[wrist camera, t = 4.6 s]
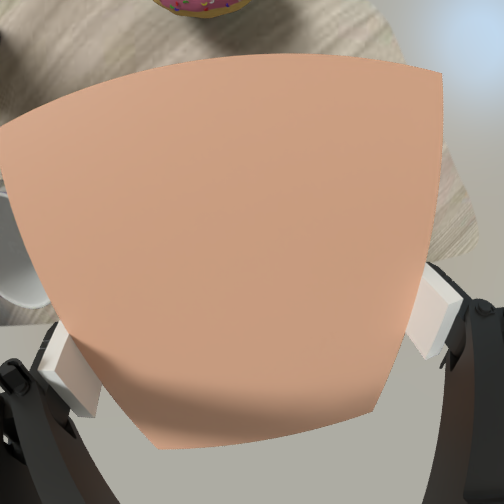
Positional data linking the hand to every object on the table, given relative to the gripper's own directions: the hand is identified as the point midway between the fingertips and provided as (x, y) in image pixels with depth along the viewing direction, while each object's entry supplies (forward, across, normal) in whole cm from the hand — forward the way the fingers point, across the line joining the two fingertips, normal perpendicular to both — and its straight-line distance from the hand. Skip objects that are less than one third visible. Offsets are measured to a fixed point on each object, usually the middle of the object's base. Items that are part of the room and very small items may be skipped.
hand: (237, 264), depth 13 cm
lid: (-2, 0, 0) cm, 2 cm away
